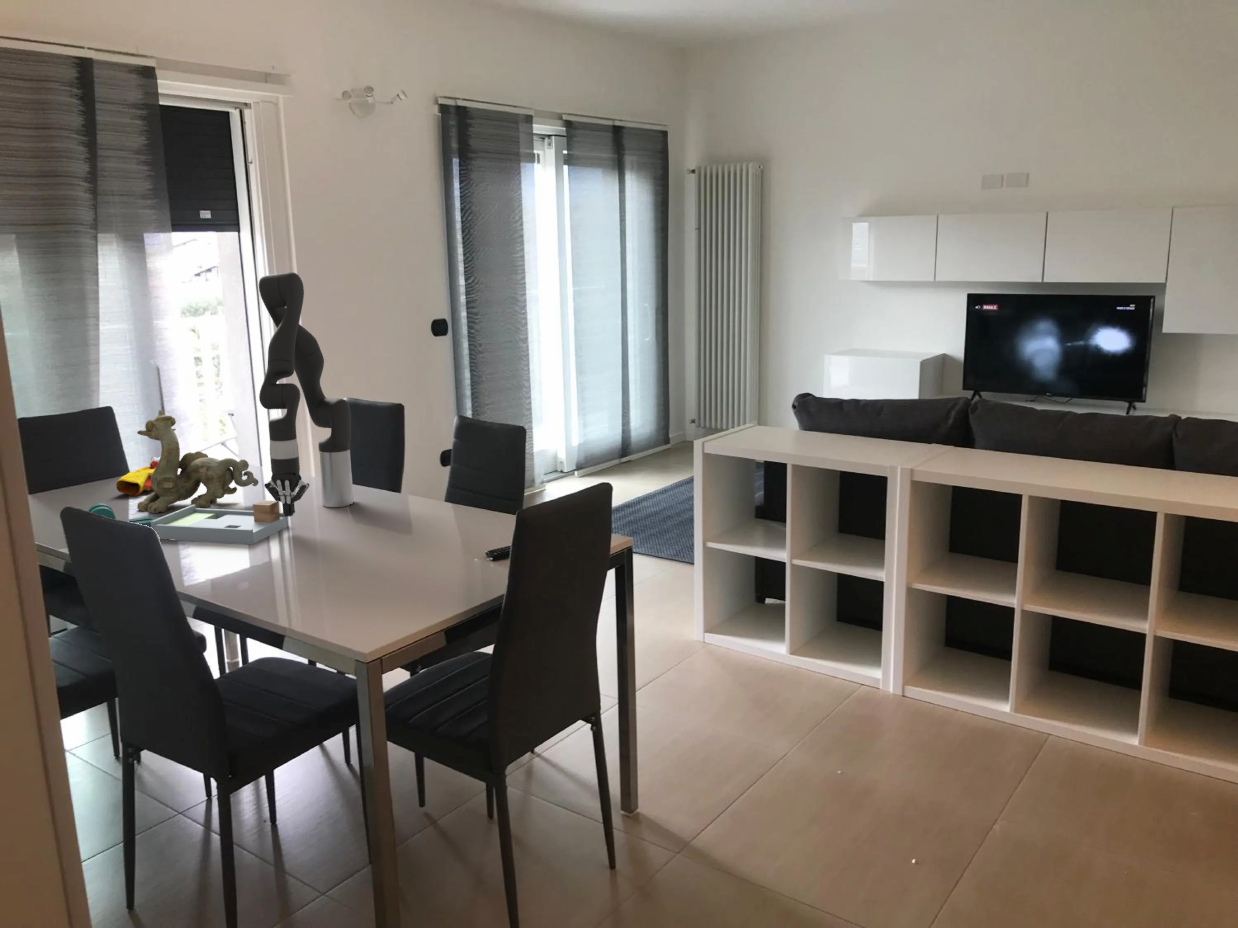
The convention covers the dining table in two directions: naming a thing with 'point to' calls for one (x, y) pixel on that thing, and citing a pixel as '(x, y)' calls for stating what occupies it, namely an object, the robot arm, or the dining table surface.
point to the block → (266, 511)
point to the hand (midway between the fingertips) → (289, 515)
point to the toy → (137, 479)
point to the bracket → (108, 512)
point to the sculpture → (188, 471)
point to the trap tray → (216, 526)
